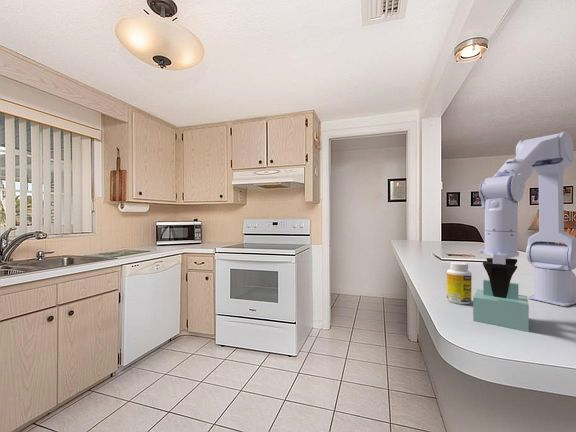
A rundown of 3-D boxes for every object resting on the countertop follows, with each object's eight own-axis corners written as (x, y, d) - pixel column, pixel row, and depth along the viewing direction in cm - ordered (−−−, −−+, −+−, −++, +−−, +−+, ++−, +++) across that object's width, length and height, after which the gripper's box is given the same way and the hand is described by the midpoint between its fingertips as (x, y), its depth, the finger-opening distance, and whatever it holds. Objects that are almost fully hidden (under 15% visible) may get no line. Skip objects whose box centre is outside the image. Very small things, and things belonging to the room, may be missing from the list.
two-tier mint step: (477, 309, 66) (477, 275, 66) (527, 318, 61) (527, 281, 61) (473, 320, 59) (473, 282, 59) (528, 331, 54) (528, 289, 54)
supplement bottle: (465, 306, 69) (465, 265, 69) (442, 300, 74) (442, 262, 74) (475, 302, 72) (475, 263, 72) (453, 297, 77) (453, 260, 77)
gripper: (481, 229, 68) (481, 284, 68) (474, 231, 57) (474, 297, 57) (518, 230, 64) (518, 289, 64) (519, 233, 53) (519, 304, 52)
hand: (500, 293), depth 60 cm, fingers open, 7 cm apart
